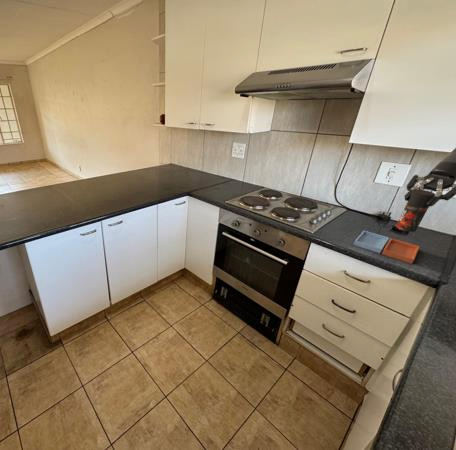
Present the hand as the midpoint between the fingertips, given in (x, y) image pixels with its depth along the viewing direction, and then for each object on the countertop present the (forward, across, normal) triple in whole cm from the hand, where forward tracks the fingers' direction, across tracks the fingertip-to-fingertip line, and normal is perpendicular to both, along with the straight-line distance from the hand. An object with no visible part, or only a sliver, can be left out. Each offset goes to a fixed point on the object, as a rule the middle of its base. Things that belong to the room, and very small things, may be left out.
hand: (416, 202), depth 92 cm
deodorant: (+7, 0, +9) cm, 12 cm away
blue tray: (+14, -11, +22) cm, 28 cm away
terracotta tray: (+11, -1, +24) cm, 27 cm away
